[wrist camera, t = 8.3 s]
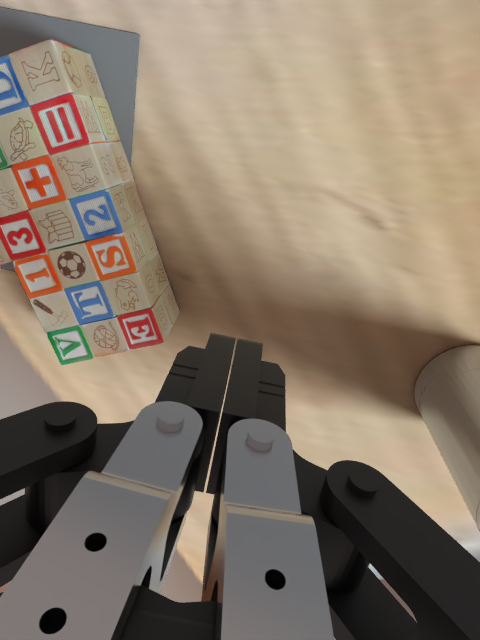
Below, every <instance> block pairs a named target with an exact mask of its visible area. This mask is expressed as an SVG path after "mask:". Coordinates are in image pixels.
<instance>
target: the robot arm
mask: <svg viewBox="0 0 480 640" xmlns="http://www.w3.org/2000/svg"><path fill="white" fill-rule="evenodd" d="M235 339H236V338H233V337H228V336H223V335H218V334H213V333H211V334H210V337H209V340H208V343H207V346H206V348H205V349H202V348H197V347H192V346H188V347H187V348H185V349H184V350H182V351H181V352H179V353H178V354H177V356H176V358H175V360H174V362H173V366H172V367H171V369H170V371H169V374H168V375H167V378H166V380H165V382H164V384H163V386H162V388H161V391H160V393H159V395H158V397H157V399H156V401H155V403H153V404H150V405H148V406H146V407H145V408H144V409H142V410H141V412H140V413H139V414H138V416H137V417H136V419H135V420H134V421H130V422H126V423H114V424H97V417H96V415H95V413H94V412H93V411H92V410H91V409H90V408H88V407H87V406H85V405H82V404H79V403H75V402H54V403H49V404H46V405H42V406H40V407H36V408H33V409H30V410H28V411H24V412H21V413H18V414H16V415H13V416H10V417H7V418H4V419H1V420H0V499H2V498H4V497H6V496H8V495H10V494H13V493H15V492H17V491H19V490H21V489H24V488H25V494H24V495H22V496H20V497H18V498H16V499H14V500H12V501H10V502H7V503H5V504H3V505H1V506H0V587H1V586H3V585H5V584H6V583H8V582H9V581H11V580H12V581H11V582H10V584H9V585H8V587H7V588H6V590H5V591H4V592H2V593H0V640H334V637H335V639H336V640H480V562H479V561H478V560H477V559H475V558H474V557H473V556H472V555H471V554H470V553H469V552H468V551H467V550H465V549H464V548H463V547H462V546H461V545H460V544H459V543H458V542H457V541H456V540H454V539H453V538H452V537H451V536H450V535H449V534H448V533H447V532H446V531H445V530H443V529H442V528H441V527H440V526H439V525H438V524H437V523H436V522H435V521H434V520H432V519H431V518H430V517H429V516H428V515H427V514H426V513H425V512H424V511H423V510H421V509H420V508H419V507H418V506H417V505H416V504H415V503H414V502H413V501H412V500H410V499H409V498H408V497H407V496H406V495H405V494H404V493H403V492H402V491H401V490H399V489H398V488H397V487H396V486H395V485H394V484H393V483H392V482H391V481H389V480H388V479H387V478H386V477H385V476H384V475H383V474H381V473H380V472H379V471H377V470H376V469H374V468H373V467H371V466H369V465H366V464H364V463H361V462H357V461H350V460H345V461H339V462H336V463H334V464H333V465H332V466H330V468H329V469H328V471H327V470H325V469H323V468H321V467H319V466H316V465H314V464H312V463H310V462H308V461H306V460H305V459H303V458H302V457H301V456H299V455H298V454H297V453H296V452H295V451H294V450H293V449H292V443H291V440H290V438H289V436H288V435H287V433H286V417H285V374H284V373H283V371H282V370H281V368H280V367H279V365H278V364H275V363H270V362H266V361H261V357H262V346H263V344H262V343H258V342H253V341H248V340H243V339H238V341H237V345H236V350H235V355H234V360H233V364H232V369H231V374H230V379H229V383H228V388H227V393H226V398H225V402H224V407H223V412H222V417H221V422H220V427H219V432H218V437H217V442H216V447H215V451H214V456H213V461H212V466H211V471H210V476H209V481H208V486H207V491H206V493H210V494H215V495H214V500H213V505H212V511H211V515H210V520H209V525H208V534H207V545H206V555H205V566H204V576H203V586H202V597H201V602H189V603H188V602H187V603H178V602H174V601H172V600H170V599H168V598H166V597H164V596H162V595H160V593H161V590H162V587H163V584H164V581H165V579H166V576H167V573H168V570H169V567H170V564H171V561H172V558H173V555H174V552H175V549H176V546H177V543H178V541H179V538H180V535H181V532H182V529H183V526H184V523H185V520H186V515H187V511H188V510H189V508H190V506H191V503H192V499H193V495H194V491H200V492H204V487H205V482H206V478H207V473H208V468H209V464H210V459H211V455H212V450H213V445H214V441H215V436H216V432H217V427H218V422H219V418H220V413H221V408H222V404H223V399H224V394H225V389H226V384H227V379H228V374H229V369H230V364H231V359H232V354H233V349H234V344H235ZM414 397H415V401H416V405H417V407H418V409H419V411H420V413H421V415H422V417H423V419H424V421H425V423H426V425H427V427H428V429H429V431H430V434H431V436H432V438H433V440H434V442H435V444H436V445H437V447H438V449H439V451H440V453H441V455H442V457H443V459H444V461H445V463H446V465H447V467H448V469H449V471H450V473H451V475H452V477H453V479H454V481H455V483H456V485H457V487H458V489H459V491H460V493H461V495H462V497H463V499H464V501H465V503H466V505H467V507H468V509H469V511H470V513H471V515H472V517H473V519H474V521H475V523H476V525H477V527H478V529H479V531H480V345H467V346H461V347H456V348H454V349H451V350H448V351H446V352H444V353H442V354H440V355H438V356H437V357H435V358H434V359H433V360H432V361H430V362H429V363H428V364H427V365H426V366H425V368H424V369H423V370H422V371H421V373H420V375H419V377H418V379H417V381H416V385H415V391H414ZM370 563H371V565H372V566H373V567H374V568H375V569H376V570H377V571H378V572H379V574H380V575H381V576H382V577H383V578H384V579H385V580H386V581H387V583H388V584H389V585H390V586H391V587H392V588H393V589H394V590H395V591H396V593H397V594H398V595H399V596H400V597H401V598H402V600H403V601H404V602H405V603H406V604H407V605H408V607H409V608H410V609H411V611H412V612H413V614H414V616H415V618H416V620H417V623H416V621H415V620H414V619H413V618H412V617H411V616H410V615H409V613H408V612H407V611H406V610H405V609H404V608H403V607H402V605H401V604H400V603H399V602H398V601H397V600H396V599H395V597H394V596H393V595H392V594H391V593H390V592H389V590H388V589H387V588H386V587H385V586H384V585H383V584H382V583H381V581H380V580H379V579H378V578H377V577H376V576H375V574H374V573H373V572H372V571H371V570H370V569H369V568H368V566H369V564H370Z"/></svg>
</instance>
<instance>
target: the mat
mask: <svg viewBox="0 0 480 640" xmlns="http://www.w3.org/2000/svg"><path fill="white" fill-rule="evenodd" d="M139 36H140V35H139V34H134V33H129V32H124V31H119V30H114V29H109V28H104V27H99V26H94V25H89V24H84V23H79V22H74V21H68V20H63V19H58V18H53V17H48V16H43V15H38V14H33V13H28V12H23V11H18V10H13V9H8V8H2V7H0V57H2V56H6V55H8V54H10V53H12V52H14V51H17V50H21V49H23V48H26V47H29V46H32V45H34V44H37V43H40V42H42V41H45V40H49V39H53V40H56V41H59V42H61V43H64V44H66V45H69V46H71V47H72V48H75V49H78V50H81V51H84V52H87V53H89V54H90V55H91V57H92V60H93V63H94V66H95V69H96V72H97V75H98V77H99V80H100V83H101V86H102V89H103V92H104V95H105V99H106V100H107V102H108V105H109V108H110V111H111V114H112V117H113V120H114V123H115V125H116V128H117V131H118V134H119V137H120V141H121V143H122V146H123V149H124V152H125V154H126V157H127V160H128V163H129V166H130V165H131V151H132V136H133V122H134V108H135V93H136V79H137V65H138V50H139ZM1 269H6V270H11V271H15V269H14V264H13V261H12V262H10V263H6V264H2V265H1Z"/></svg>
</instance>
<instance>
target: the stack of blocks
mask: <svg viewBox="0 0 480 640" xmlns="http://www.w3.org/2000/svg"><path fill="white" fill-rule="evenodd" d="M12 261H13V264H14V269H15V271H16V273H17V275H18V277H19V280H20V282H21V284H22V286H23V288H24V290H25V292H26V295H27V296H28V298H29V299H30V302H31V305H32V307H33V309H34V311H35V313H36V315H37V317H38V319H39V321H40V323H41V325H42V327H43V329H44V331H45V332H46V333H47V335H48V338H49V340H50V342H51V344H52V346H53V349H54V351H55V353H56V355H57V357H58V359H59V362H60V363H61V365H66V364H71V363H75V362H80V361H84V360H89V359H93V358H95V357H98V356H104V355H110V354H114V353H119V352H124V351H128V350H130V349H136V348H140V347H146V346H151V345H156V344H160V343H163V342H165V341H166V339H167V337H168V335H169V333H170V332H171V330H172V326H173V325H174V323H175V321H176V319H177V317H178V315H179V309H178V306H177V303H176V300H175V297H174V295H173V291H172V289H171V286H170V284H169V281H168V278H167V275H166V272H165V269H164V266H163V263H162V260H161V257H160V254H159V252H158V251H157V246H156V243H155V240H154V237H153V234H152V232H151V229H150V226H149V223H148V220H147V218H146V215H145V211H144V208H143V206H142V203H141V200H140V197H139V195H138V191H137V188H136V185H135V182H134V180H133V175H132V172H131V169H130V166H129V163H128V160H127V157H126V154H125V152H124V149H123V146H122V143H121V141H120V137H119V134H118V131H117V128H116V125H115V123H114V120H113V117H112V114H111V111H110V108H109V105H108V102H107V100H106V99H105V95H104V92H103V89H102V86H101V83H100V80H99V77H98V75H97V72H96V69H95V66H94V63H93V60H92V57H91V55H90V54H89V53H87V52H84V51H81V50H78V49H75V48H72V47H71V46H69V45H66V44H64V43H61V42H59V41H56V40H53V39H49V40H45V41H42V42H40V43H37V44H34V45H32V46H29V47H26V48H23V49H21V50H17V51H14V52H12V53H10V54H8V55H6V56H2V57H0V265H2V264H6V263H10V262H12Z"/></svg>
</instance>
